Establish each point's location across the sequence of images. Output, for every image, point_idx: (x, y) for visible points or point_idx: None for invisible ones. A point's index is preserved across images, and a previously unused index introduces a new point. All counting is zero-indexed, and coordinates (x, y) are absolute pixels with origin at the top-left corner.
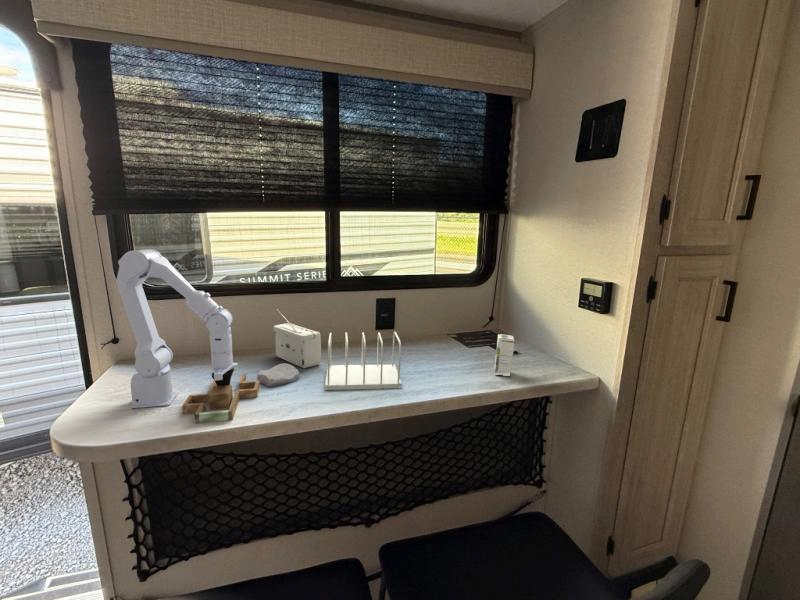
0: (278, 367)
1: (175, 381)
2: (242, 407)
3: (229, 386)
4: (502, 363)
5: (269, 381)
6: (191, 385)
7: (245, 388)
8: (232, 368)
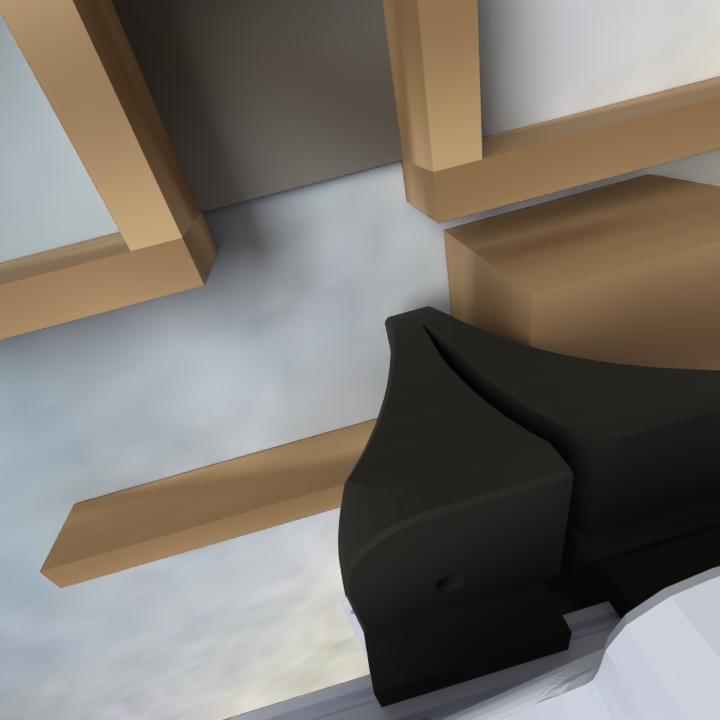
0: None
1: (170, 679)
2: (687, 7)
3: (589, 301)
4: None
5: None
6: (204, 606)
7: (182, 176)
8: (399, 555)
